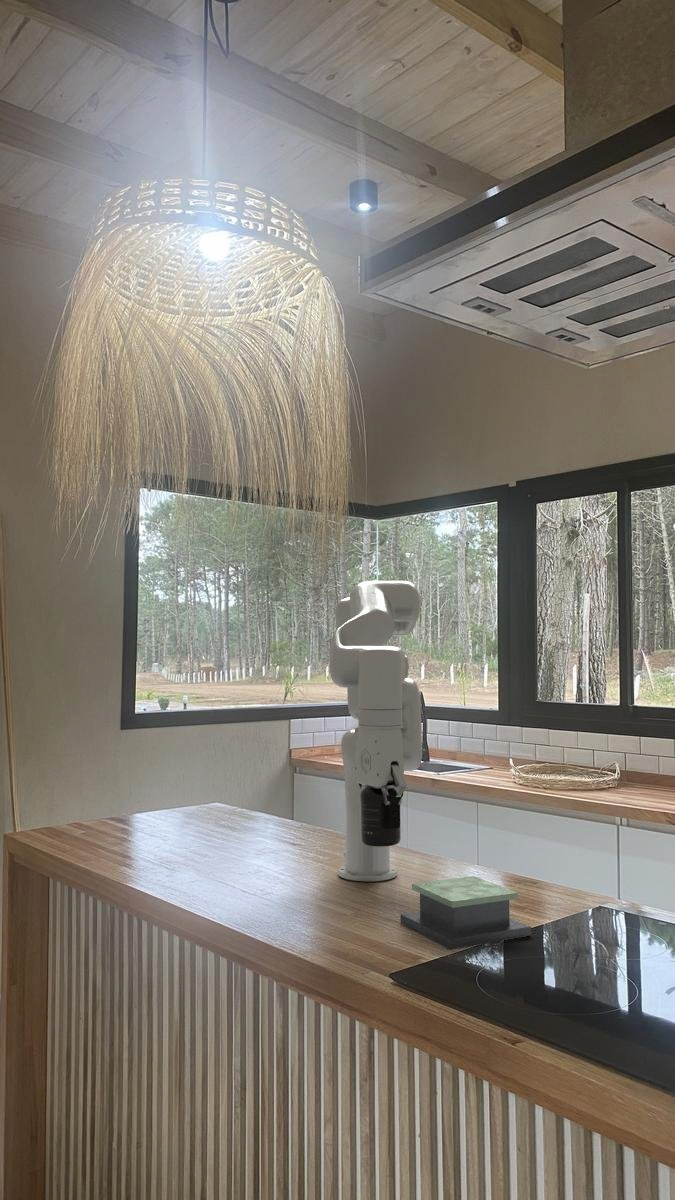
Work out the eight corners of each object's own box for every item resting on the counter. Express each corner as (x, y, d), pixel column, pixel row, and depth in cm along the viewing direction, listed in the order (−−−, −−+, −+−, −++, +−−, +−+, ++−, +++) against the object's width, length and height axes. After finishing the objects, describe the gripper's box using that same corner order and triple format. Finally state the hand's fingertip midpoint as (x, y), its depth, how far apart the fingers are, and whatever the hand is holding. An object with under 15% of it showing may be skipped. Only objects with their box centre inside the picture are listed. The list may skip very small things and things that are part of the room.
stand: (400, 923, 158) (400, 882, 159) (476, 912, 165) (476, 873, 166) (449, 949, 144) (449, 904, 145) (531, 936, 151) (530, 893, 151)
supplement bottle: (376, 836, 159) (376, 768, 159) (408, 842, 154) (408, 771, 155) (352, 843, 153) (352, 772, 154) (384, 849, 149) (384, 776, 150)
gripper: (338, 716, 161) (338, 817, 160) (384, 724, 145) (385, 836, 145) (375, 714, 164) (376, 814, 163) (425, 722, 149) (425, 831, 148)
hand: (380, 823), depth 154 cm, fingers closed on supplement bottle, 6 cm apart
